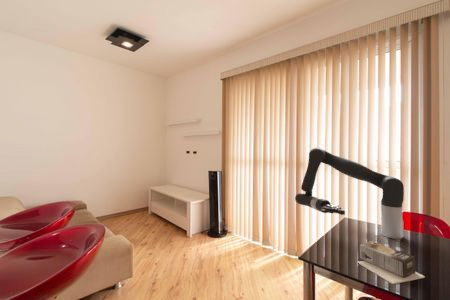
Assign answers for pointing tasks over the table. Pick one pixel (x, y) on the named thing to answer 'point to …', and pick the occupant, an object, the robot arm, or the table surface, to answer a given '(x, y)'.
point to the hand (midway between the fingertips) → (343, 212)
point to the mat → (389, 273)
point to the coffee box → (388, 258)
